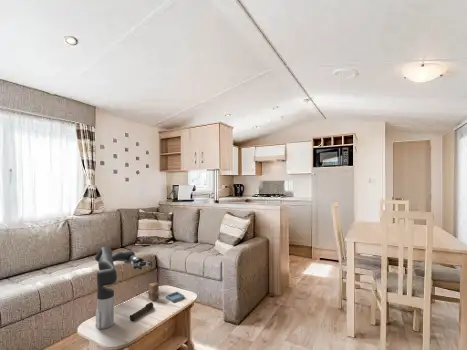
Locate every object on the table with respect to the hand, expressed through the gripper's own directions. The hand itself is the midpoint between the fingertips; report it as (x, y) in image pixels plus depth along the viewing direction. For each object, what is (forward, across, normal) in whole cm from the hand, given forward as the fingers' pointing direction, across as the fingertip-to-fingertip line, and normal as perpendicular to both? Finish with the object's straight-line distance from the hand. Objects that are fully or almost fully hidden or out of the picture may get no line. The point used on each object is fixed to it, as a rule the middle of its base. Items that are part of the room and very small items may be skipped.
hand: (146, 266), depth 198 cm
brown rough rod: (+26, -16, +21) cm, 37 cm away
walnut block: (+12, 0, +21) cm, 24 cm away
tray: (+22, +12, +20) cm, 32 cm away
